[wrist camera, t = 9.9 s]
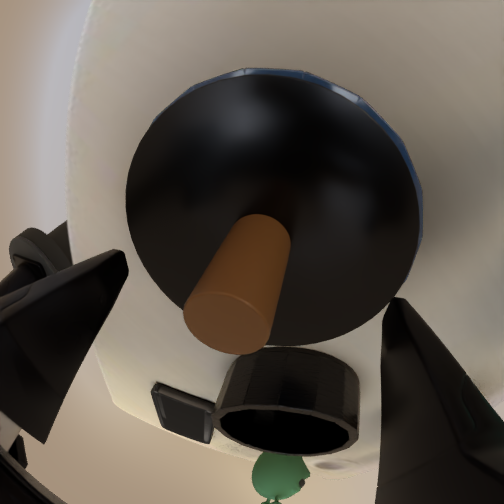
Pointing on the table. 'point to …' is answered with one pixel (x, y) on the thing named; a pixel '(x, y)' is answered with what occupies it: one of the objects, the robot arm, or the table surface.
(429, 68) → the table surface
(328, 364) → the tin
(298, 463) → the alien toy
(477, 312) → the table surface
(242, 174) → the lid
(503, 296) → the table surface
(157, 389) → the phone
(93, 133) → the table surface
